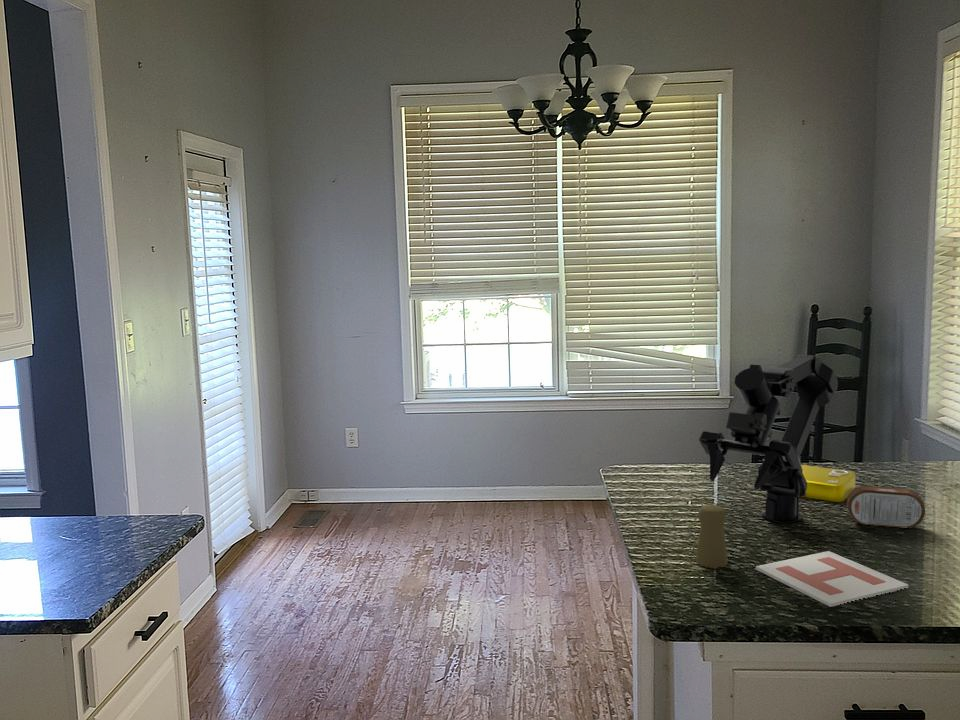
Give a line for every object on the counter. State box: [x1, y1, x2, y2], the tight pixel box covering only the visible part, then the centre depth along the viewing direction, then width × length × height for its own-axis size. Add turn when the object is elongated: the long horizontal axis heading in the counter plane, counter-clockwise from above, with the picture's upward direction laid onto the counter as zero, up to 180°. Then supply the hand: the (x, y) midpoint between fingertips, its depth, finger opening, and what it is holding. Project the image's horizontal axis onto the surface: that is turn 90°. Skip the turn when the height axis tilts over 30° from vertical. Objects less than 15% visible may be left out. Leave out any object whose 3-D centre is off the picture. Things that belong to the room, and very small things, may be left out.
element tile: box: [801, 464, 856, 503], centre depth 202 cm, size 15×15×5 cm
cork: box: [694, 504, 729, 569], centre depth 157 cm, size 6×6×11 cm
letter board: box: [755, 550, 909, 608], centre depth 149 cm, size 18×18×1 cm
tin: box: [846, 485, 926, 529], centre depth 175 cm, size 15×3×8 cm, turn 71°
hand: (733, 484), depth 162 cm, fingers open, 9 cm apart
